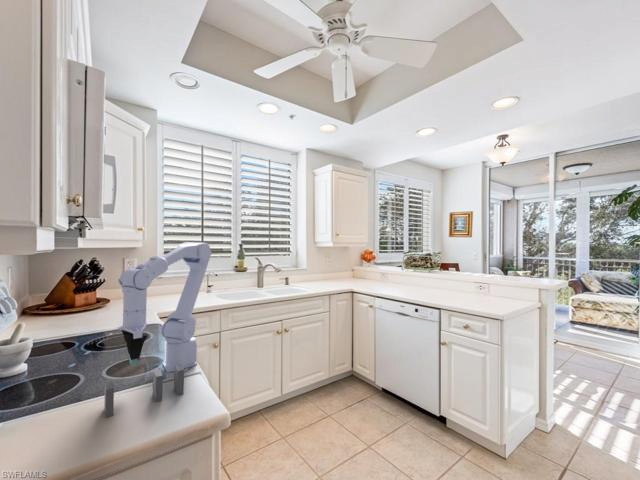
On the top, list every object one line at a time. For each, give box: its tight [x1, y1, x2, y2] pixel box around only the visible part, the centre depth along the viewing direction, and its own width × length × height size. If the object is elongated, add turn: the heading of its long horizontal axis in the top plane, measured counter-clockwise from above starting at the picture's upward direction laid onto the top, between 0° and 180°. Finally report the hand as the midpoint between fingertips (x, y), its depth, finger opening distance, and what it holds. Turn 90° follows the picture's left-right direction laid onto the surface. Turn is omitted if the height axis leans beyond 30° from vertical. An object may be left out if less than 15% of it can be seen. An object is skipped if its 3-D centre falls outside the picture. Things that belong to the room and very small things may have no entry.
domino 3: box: [152, 368, 164, 403], centre depth 80 cm, size 2×4×7 cm, turn 40°
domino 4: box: [173, 364, 185, 396], centre depth 83 cm, size 2×4×7 cm, turn 40°
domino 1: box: [103, 380, 115, 418], centre depth 73 cm, size 2×4×7 cm, turn 40°
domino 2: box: [128, 355, 139, 367], centre depth 83 cm, size 2×4×7 cm, turn 40°
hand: (133, 355), depth 84 cm, fingers closed on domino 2, 4 cm apart
